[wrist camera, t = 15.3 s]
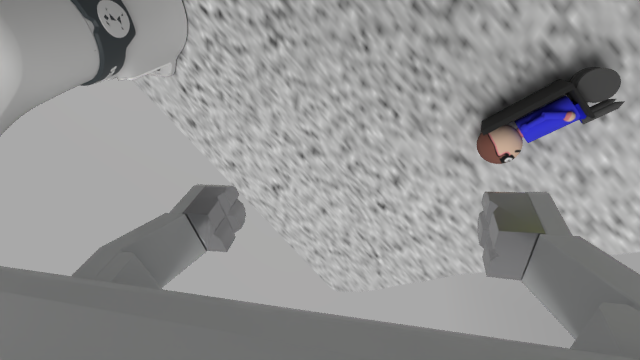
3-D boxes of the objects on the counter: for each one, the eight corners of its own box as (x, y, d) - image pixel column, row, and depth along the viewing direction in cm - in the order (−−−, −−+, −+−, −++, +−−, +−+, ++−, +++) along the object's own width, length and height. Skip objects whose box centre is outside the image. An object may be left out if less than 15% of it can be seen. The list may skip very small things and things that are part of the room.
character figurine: (610, 88, 36) (481, 148, 44) (590, 38, 33) (457, 112, 41) (650, 122, 30) (494, 184, 39) (631, 66, 27) (466, 145, 36)
